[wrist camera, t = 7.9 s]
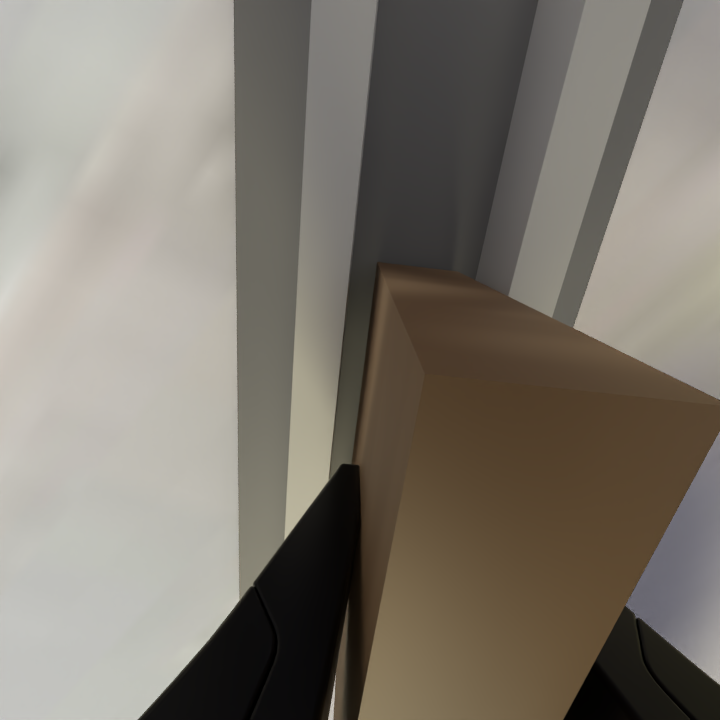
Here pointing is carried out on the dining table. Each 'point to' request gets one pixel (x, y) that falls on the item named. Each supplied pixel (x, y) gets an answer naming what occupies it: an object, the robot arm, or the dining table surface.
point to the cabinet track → (409, 192)
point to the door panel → (500, 501)
